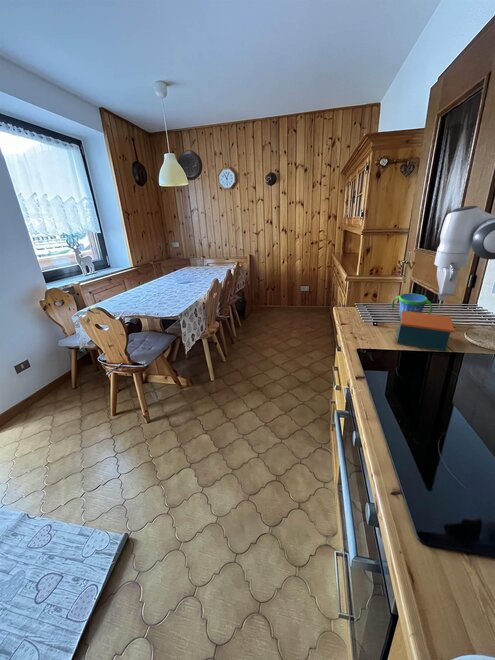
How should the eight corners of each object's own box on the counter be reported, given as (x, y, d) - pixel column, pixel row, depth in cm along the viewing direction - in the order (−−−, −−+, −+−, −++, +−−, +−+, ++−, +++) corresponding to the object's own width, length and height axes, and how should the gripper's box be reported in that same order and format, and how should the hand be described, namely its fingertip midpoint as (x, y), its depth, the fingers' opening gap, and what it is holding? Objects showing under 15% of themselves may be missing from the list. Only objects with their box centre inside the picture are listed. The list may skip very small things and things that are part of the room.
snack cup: (385, 317, 128) (389, 296, 123) (396, 310, 133) (400, 290, 129) (422, 328, 117) (428, 305, 112) (432, 320, 122) (438, 298, 118)
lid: (450, 318, 106) (450, 316, 106) (453, 332, 97) (454, 330, 96) (401, 312, 113) (402, 310, 113) (400, 325, 104) (401, 323, 103)
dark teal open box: (442, 335, 110) (447, 318, 107) (445, 351, 100) (450, 332, 97) (398, 329, 117) (401, 312, 113) (396, 343, 107) (400, 325, 104)
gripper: (467, 268, 84) (455, 311, 90) (458, 253, 100) (449, 290, 106) (441, 267, 87) (432, 308, 93) (437, 253, 102) (429, 289, 109)
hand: (441, 299), depth 99 cm, fingers closed
